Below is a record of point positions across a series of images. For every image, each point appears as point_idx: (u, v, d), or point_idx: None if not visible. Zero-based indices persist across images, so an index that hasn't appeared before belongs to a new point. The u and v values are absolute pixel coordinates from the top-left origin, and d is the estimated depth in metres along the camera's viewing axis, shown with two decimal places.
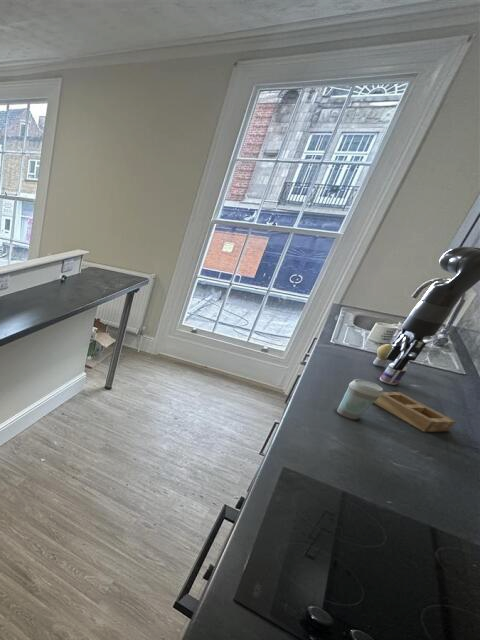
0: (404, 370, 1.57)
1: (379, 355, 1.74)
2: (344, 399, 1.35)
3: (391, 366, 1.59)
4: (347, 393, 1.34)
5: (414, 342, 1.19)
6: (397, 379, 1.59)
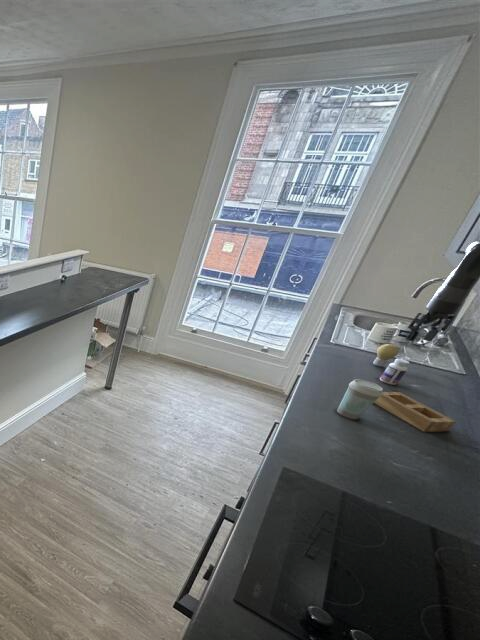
0: (404, 370, 1.57)
1: (379, 355, 1.74)
2: (344, 399, 1.35)
3: (391, 366, 1.59)
4: (347, 393, 1.34)
5: (418, 314, 1.44)
6: (397, 379, 1.59)
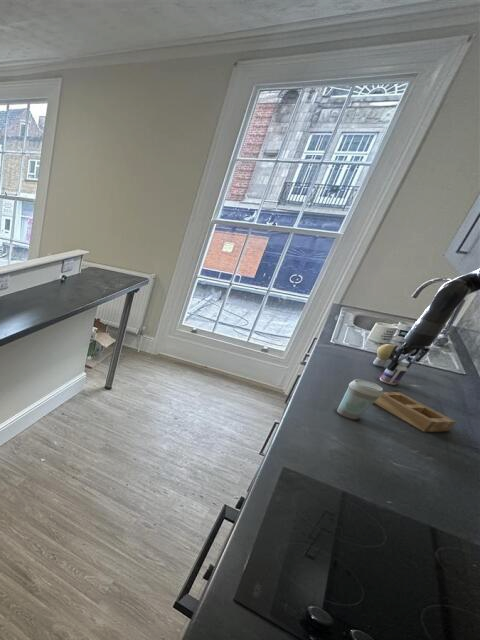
0: (404, 370, 1.57)
1: (379, 355, 1.74)
2: (344, 399, 1.35)
3: None
4: (347, 393, 1.34)
5: (395, 346, 1.55)
6: (397, 379, 1.59)
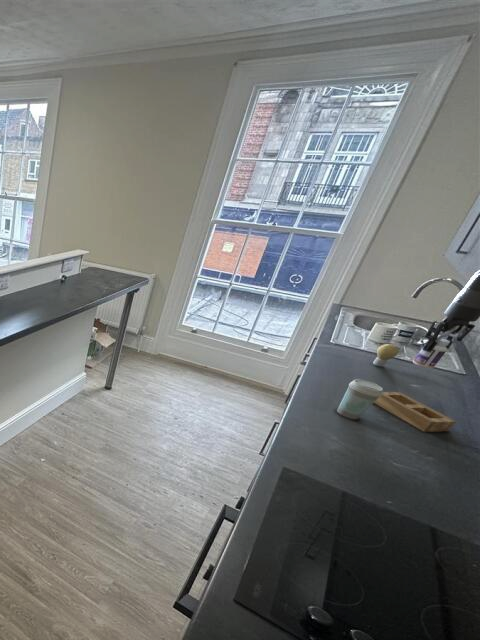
0: (443, 351, 1.33)
1: (379, 355, 1.74)
2: (344, 399, 1.35)
3: None
4: (347, 393, 1.34)
5: (433, 322, 1.31)
6: (434, 361, 1.35)
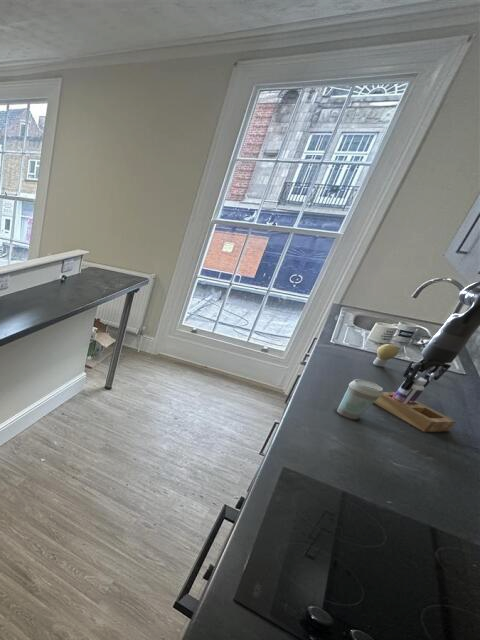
0: (421, 389, 1.36)
1: (379, 355, 1.74)
2: (344, 399, 1.35)
3: None
4: (347, 393, 1.34)
5: (410, 363, 1.34)
6: (412, 399, 1.38)
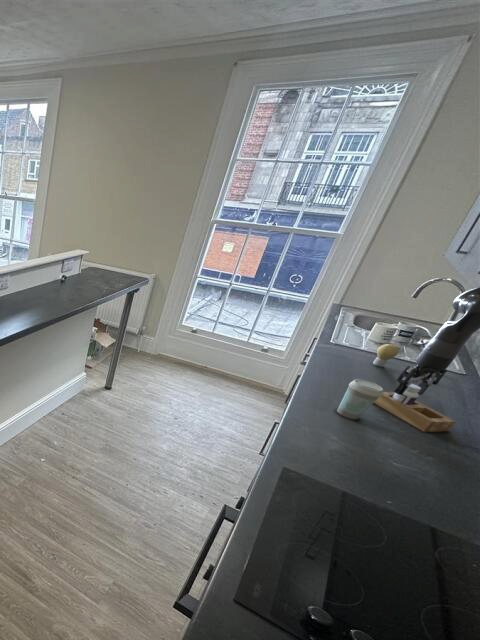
0: (415, 397, 1.38)
1: (379, 355, 1.74)
2: (344, 399, 1.35)
3: None
4: (347, 393, 1.34)
5: (406, 367, 1.35)
6: None
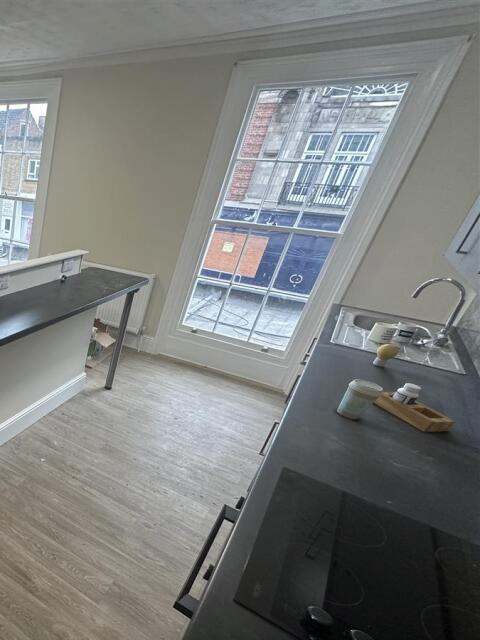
0: (415, 397, 1.38)
1: (379, 355, 1.74)
2: (344, 399, 1.35)
3: (400, 392, 1.40)
4: (347, 393, 1.34)
5: None
6: None
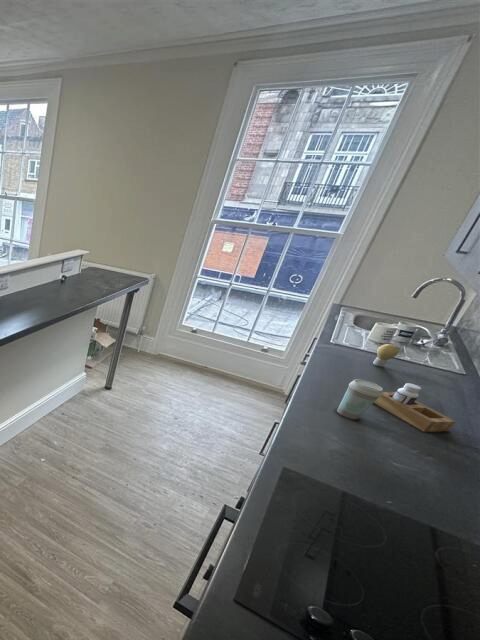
0: (415, 397, 1.38)
1: (379, 355, 1.74)
2: (344, 399, 1.35)
3: (400, 392, 1.40)
4: (347, 393, 1.34)
5: None
6: None
